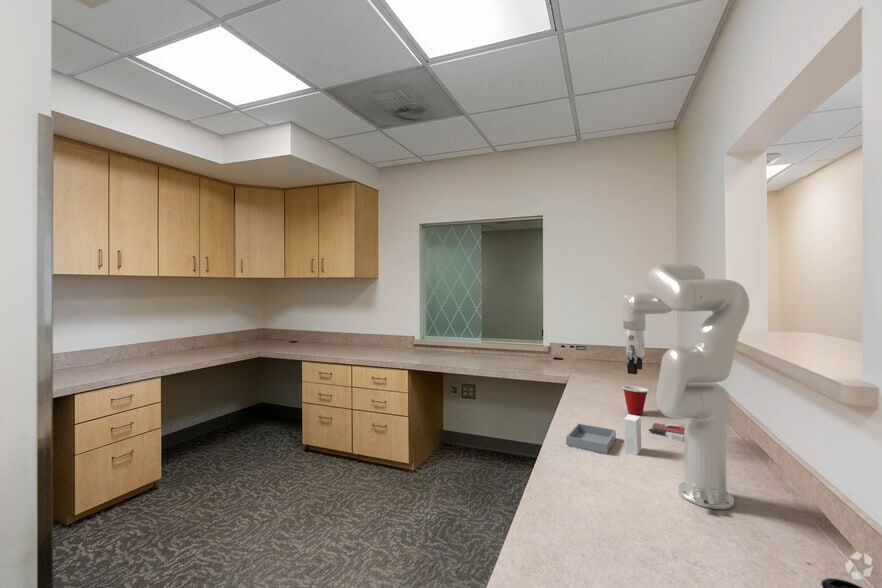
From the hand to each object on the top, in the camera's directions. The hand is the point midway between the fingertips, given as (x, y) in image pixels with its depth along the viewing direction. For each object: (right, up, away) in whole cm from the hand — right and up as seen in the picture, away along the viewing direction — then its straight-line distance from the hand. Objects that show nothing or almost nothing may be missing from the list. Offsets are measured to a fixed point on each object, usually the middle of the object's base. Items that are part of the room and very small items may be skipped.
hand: (635, 371), depth 143 cm
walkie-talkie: (+18, -26, +3) cm, 32 cm away
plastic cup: (+16, -26, +30) cm, 43 cm away
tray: (-17, -27, -1) cm, 31 cm away
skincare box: (-5, -27, -9) cm, 29 cm away
